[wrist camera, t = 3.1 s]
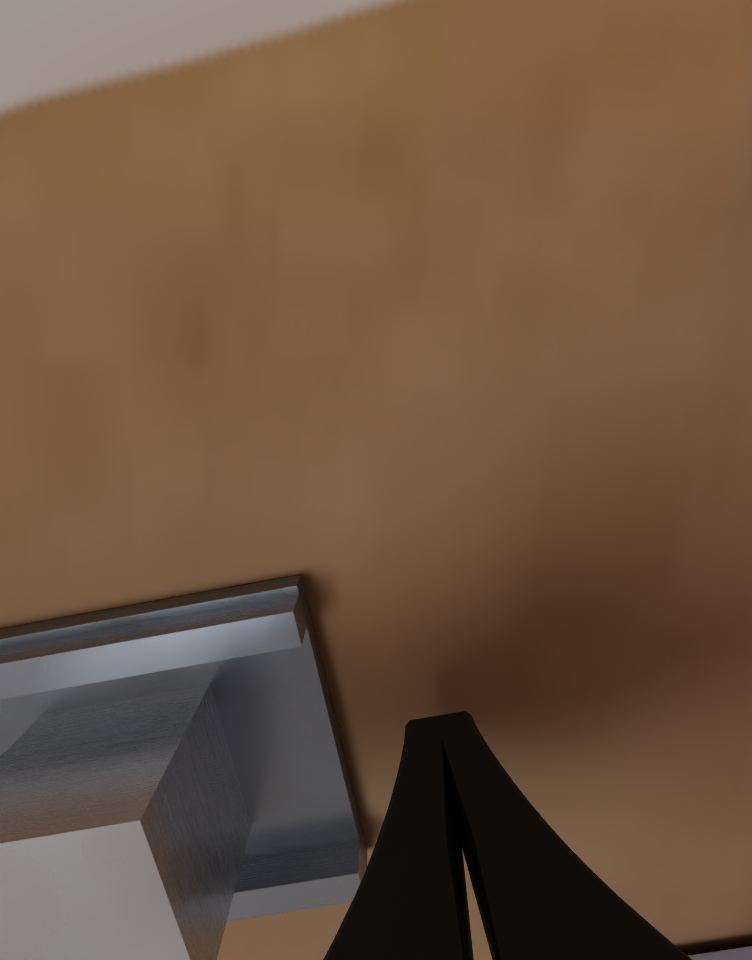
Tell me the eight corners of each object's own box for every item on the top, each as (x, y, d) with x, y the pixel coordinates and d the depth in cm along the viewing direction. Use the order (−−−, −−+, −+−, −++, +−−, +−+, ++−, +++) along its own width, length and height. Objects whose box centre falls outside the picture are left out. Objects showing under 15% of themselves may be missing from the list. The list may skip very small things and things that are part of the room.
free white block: (209, 684, 11) (139, 820, 8) (251, 825, 12) (205, 1001, 9) (16, 717, 12) (-132, 865, 8) (72, 854, 12) (-41, 1038, 9)
